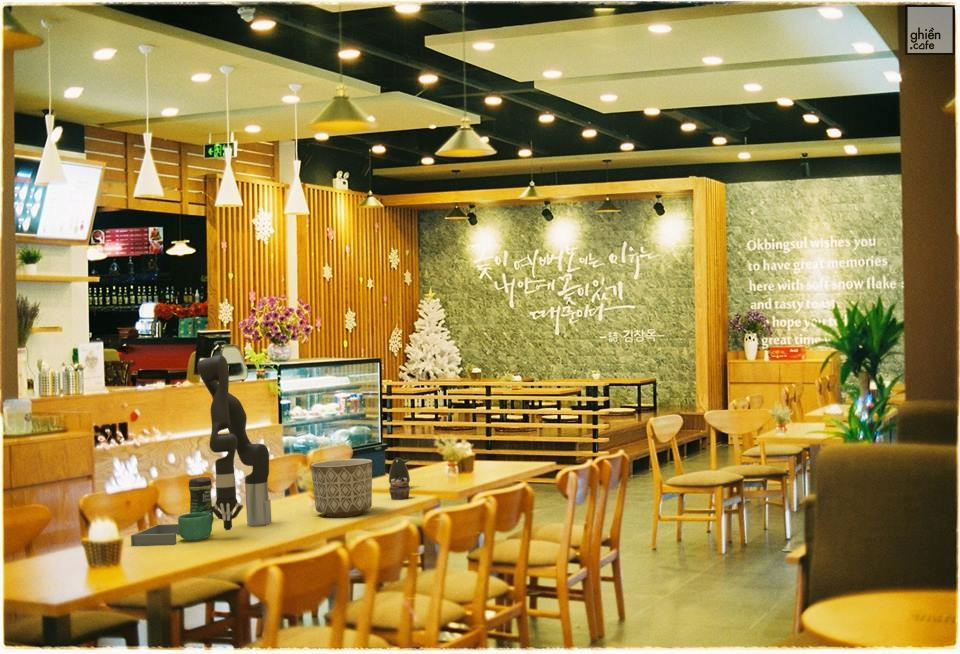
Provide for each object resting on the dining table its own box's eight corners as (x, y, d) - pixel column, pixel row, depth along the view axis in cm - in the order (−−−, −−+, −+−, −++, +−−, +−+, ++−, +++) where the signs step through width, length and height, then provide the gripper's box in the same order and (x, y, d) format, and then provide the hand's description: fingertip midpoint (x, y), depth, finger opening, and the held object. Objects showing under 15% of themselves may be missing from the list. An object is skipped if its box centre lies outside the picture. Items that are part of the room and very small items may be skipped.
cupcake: (414, 497, 528) (413, 475, 528) (402, 500, 520) (400, 478, 520) (397, 496, 533) (396, 475, 533) (385, 500, 525) (384, 478, 525)
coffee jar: (199, 523, 486) (197, 479, 486) (187, 522, 491) (184, 478, 491) (217, 519, 494) (214, 476, 494) (204, 518, 499) (201, 475, 499)
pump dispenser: (409, 489, 554) (408, 458, 554) (388, 491, 554) (386, 459, 554) (411, 486, 564) (409, 456, 564) (390, 488, 565) (388, 457, 565)
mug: (196, 543, 437) (194, 518, 437) (172, 541, 444) (170, 517, 444) (226, 535, 452) (225, 511, 452) (202, 534, 458) (201, 510, 458)
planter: (357, 506, 508) (354, 457, 508) (385, 513, 486) (382, 461, 486) (303, 514, 494) (300, 463, 494) (329, 521, 472) (327, 468, 472)
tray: (198, 533, 460) (198, 523, 460) (175, 544, 437) (174, 534, 437) (156, 534, 463) (156, 524, 463) (131, 545, 439) (130, 535, 439)
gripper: (245, 483, 449) (247, 527, 449) (212, 484, 451) (215, 528, 451) (238, 486, 442) (241, 531, 442) (205, 487, 443) (208, 532, 443)
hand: (228, 529), depth 446 cm, fingers closed
